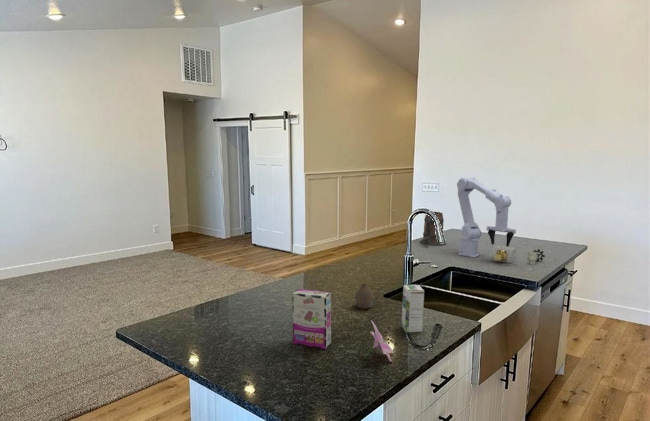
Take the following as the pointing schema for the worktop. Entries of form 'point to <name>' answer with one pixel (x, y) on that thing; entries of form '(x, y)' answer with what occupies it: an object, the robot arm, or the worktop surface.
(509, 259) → the housing
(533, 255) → the valve
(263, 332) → the worktop surface
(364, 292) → the vase
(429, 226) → the tankard
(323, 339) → the candy bar box
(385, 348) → the lily
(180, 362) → the worktop surface
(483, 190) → the robot arm
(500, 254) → the gold rounded block
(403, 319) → the syrup box
